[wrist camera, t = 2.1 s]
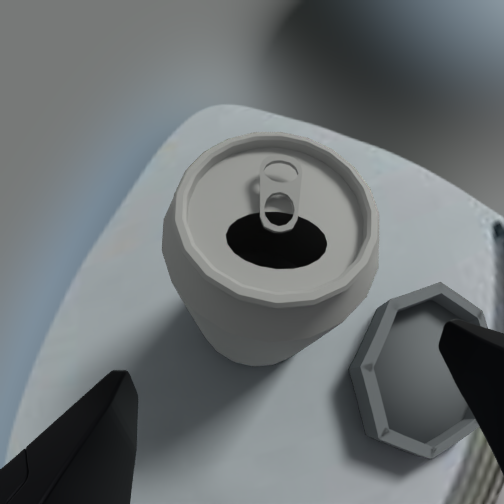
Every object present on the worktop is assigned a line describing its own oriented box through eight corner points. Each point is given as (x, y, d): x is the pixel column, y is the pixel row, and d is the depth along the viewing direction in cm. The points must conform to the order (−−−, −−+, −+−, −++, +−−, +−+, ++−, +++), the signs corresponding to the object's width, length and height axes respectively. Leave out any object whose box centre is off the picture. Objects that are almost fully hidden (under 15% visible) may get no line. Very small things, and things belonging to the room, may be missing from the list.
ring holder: (445, 465, 14) (460, 468, 12) (323, 415, 16) (332, 417, 14) (491, 334, 18) (506, 328, 17) (392, 270, 21) (404, 258, 19)
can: (192, 361, 17) (120, 313, 7) (206, 252, 21) (180, 110, 10) (312, 370, 17) (416, 333, 7) (313, 261, 21) (378, 131, 10)
